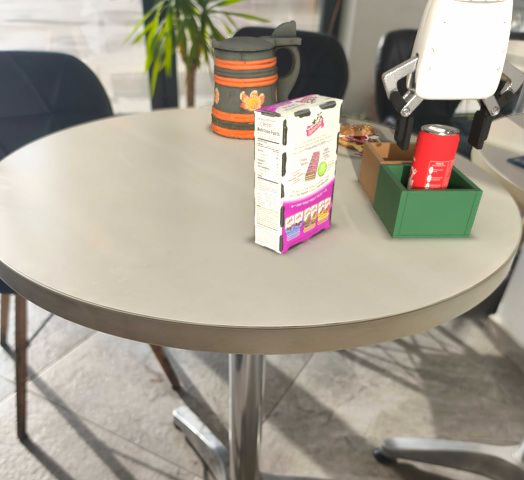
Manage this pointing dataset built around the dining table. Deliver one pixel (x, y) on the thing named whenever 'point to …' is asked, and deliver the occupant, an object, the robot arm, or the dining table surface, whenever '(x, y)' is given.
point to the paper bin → (381, 162)
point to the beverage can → (433, 157)
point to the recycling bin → (425, 205)
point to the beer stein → (250, 79)
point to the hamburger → (357, 136)
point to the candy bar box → (294, 169)
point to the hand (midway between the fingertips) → (438, 146)
